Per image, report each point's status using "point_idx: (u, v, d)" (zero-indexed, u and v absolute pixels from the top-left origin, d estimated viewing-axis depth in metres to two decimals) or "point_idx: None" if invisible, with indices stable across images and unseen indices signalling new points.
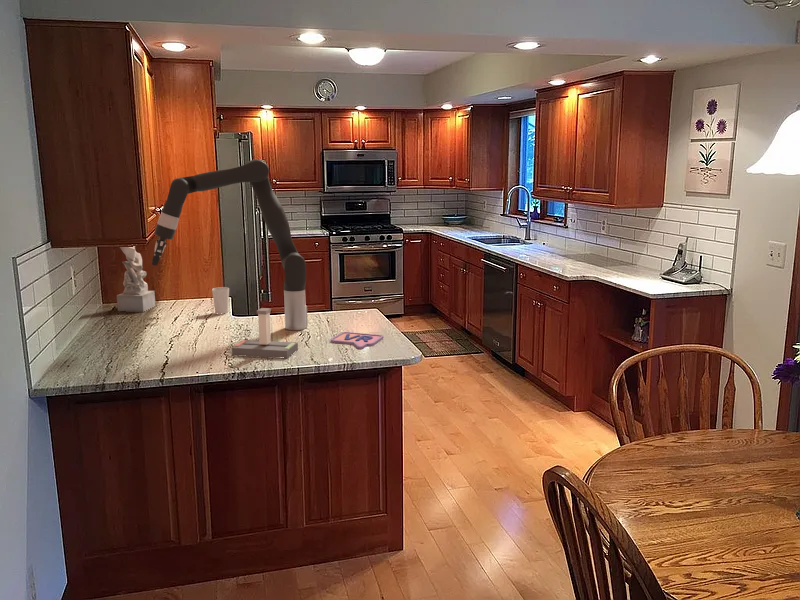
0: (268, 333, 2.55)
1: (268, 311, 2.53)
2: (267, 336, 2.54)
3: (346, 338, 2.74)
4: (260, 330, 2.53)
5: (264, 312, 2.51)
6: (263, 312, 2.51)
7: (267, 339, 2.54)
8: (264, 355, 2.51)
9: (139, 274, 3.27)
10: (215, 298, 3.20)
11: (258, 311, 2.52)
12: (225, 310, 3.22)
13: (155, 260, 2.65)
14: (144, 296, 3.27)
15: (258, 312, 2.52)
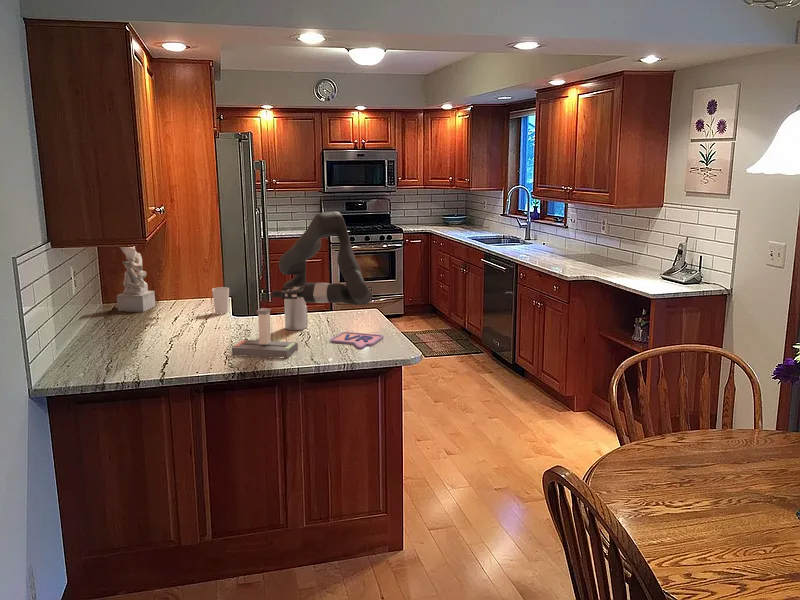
0: (268, 333, 2.55)
1: (268, 311, 2.53)
2: (267, 336, 2.54)
3: (346, 338, 2.74)
4: (260, 330, 2.53)
5: (264, 312, 2.51)
6: (263, 312, 2.51)
7: (267, 339, 2.54)
8: (264, 355, 2.51)
9: (139, 274, 3.27)
10: (215, 298, 3.20)
11: (258, 311, 2.52)
12: (225, 310, 3.22)
13: None
14: (144, 296, 3.27)
15: (258, 312, 2.52)
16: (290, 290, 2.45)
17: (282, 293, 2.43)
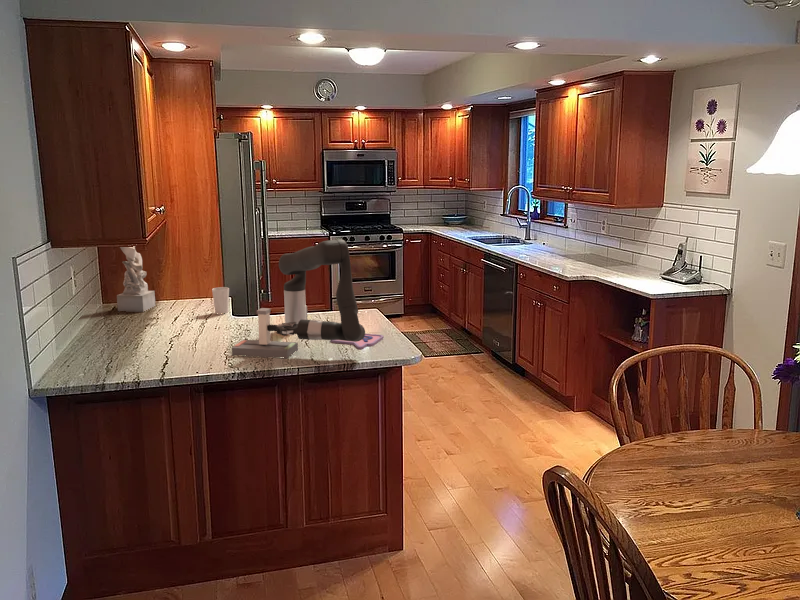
0: (268, 333, 2.55)
1: (268, 311, 2.53)
2: (267, 336, 2.54)
3: None
4: (260, 330, 2.53)
5: (264, 312, 2.51)
6: (263, 312, 2.51)
7: (267, 339, 2.54)
8: (264, 355, 2.51)
9: (139, 274, 3.27)
10: (215, 298, 3.20)
11: (258, 311, 2.52)
12: (225, 310, 3.22)
13: None
14: (144, 296, 3.27)
15: (258, 312, 2.52)
16: (283, 326, 2.52)
17: None
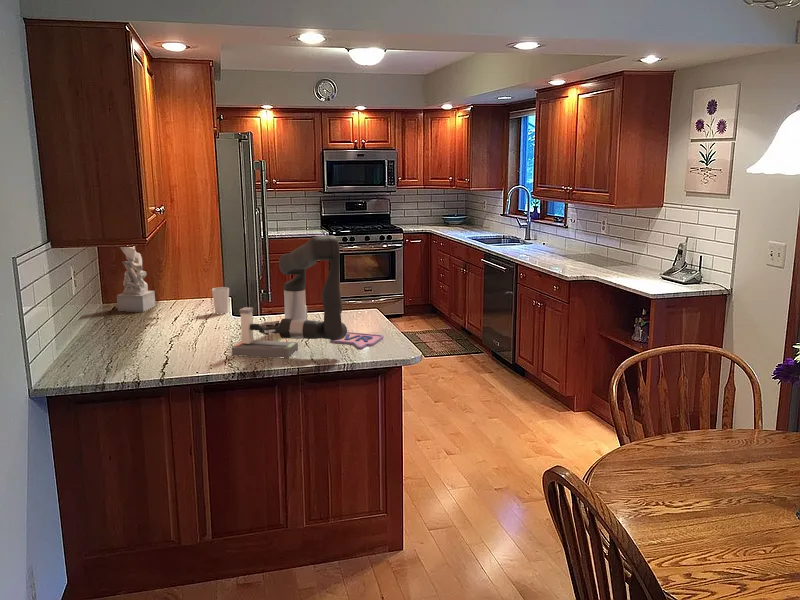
0: (251, 332, 2.56)
1: (250, 310, 2.55)
2: (250, 335, 2.56)
3: (346, 338, 2.74)
4: (242, 329, 2.55)
5: (246, 311, 2.52)
6: (245, 311, 2.53)
7: (250, 338, 2.56)
8: (264, 355, 2.51)
9: (139, 274, 3.27)
10: (215, 298, 3.20)
11: (240, 310, 2.53)
12: (225, 310, 3.22)
13: None
14: (144, 296, 3.27)
15: (240, 311, 2.53)
16: (266, 325, 2.53)
17: None
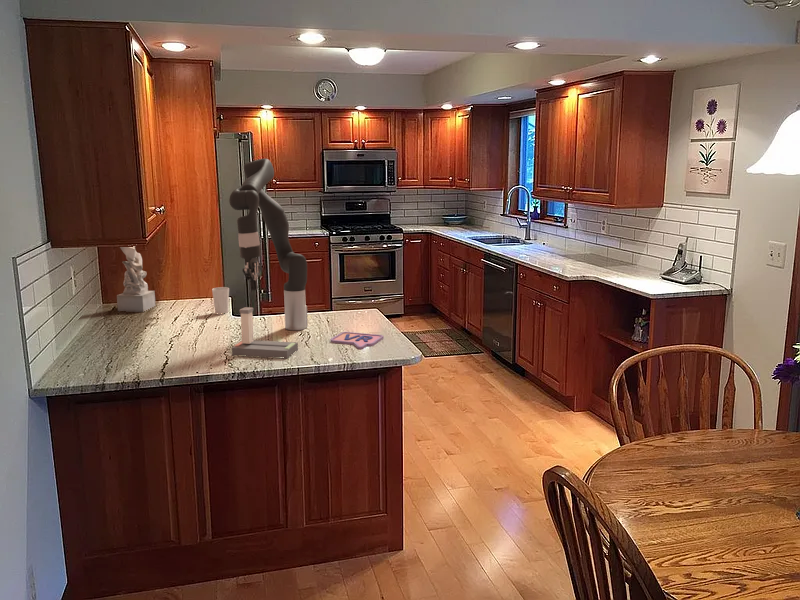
0: (251, 332, 2.56)
1: (251, 310, 2.55)
2: (250, 335, 2.56)
3: (346, 338, 2.74)
4: (243, 329, 2.55)
5: (246, 311, 2.52)
6: (245, 311, 2.53)
7: (250, 338, 2.56)
8: (264, 355, 2.51)
9: (139, 274, 3.27)
10: (215, 298, 3.20)
11: (240, 310, 2.53)
12: (225, 310, 3.22)
13: None
14: (144, 296, 3.27)
15: (240, 311, 2.53)
16: None
17: (247, 278, 2.49)
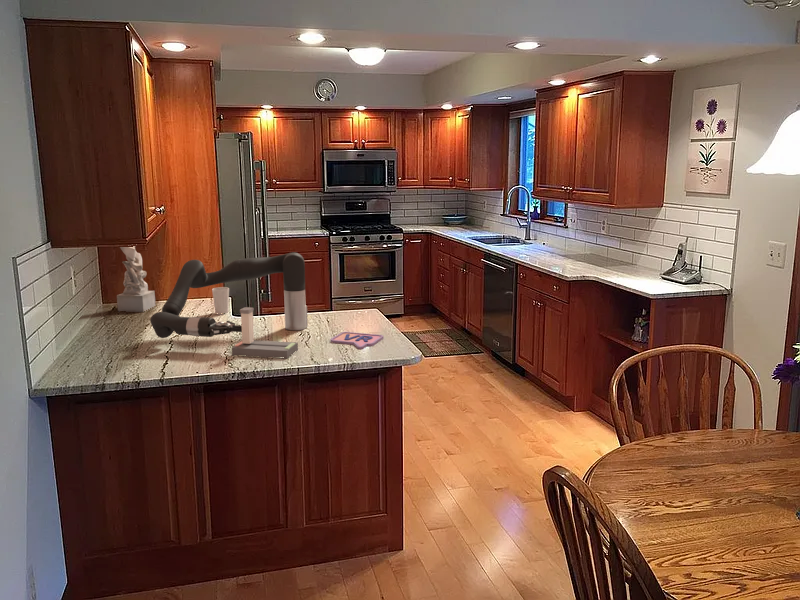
0: (251, 332, 2.56)
1: (251, 310, 2.55)
2: (250, 335, 2.56)
3: (346, 338, 2.74)
4: (243, 329, 2.55)
5: (247, 311, 2.52)
6: (246, 311, 2.53)
7: (250, 338, 2.56)
8: (264, 355, 2.51)
9: (139, 274, 3.27)
10: (215, 298, 3.20)
11: (241, 310, 2.53)
12: (225, 310, 3.22)
13: None
14: (144, 296, 3.27)
15: (241, 311, 2.53)
16: None
17: (227, 332, 2.54)
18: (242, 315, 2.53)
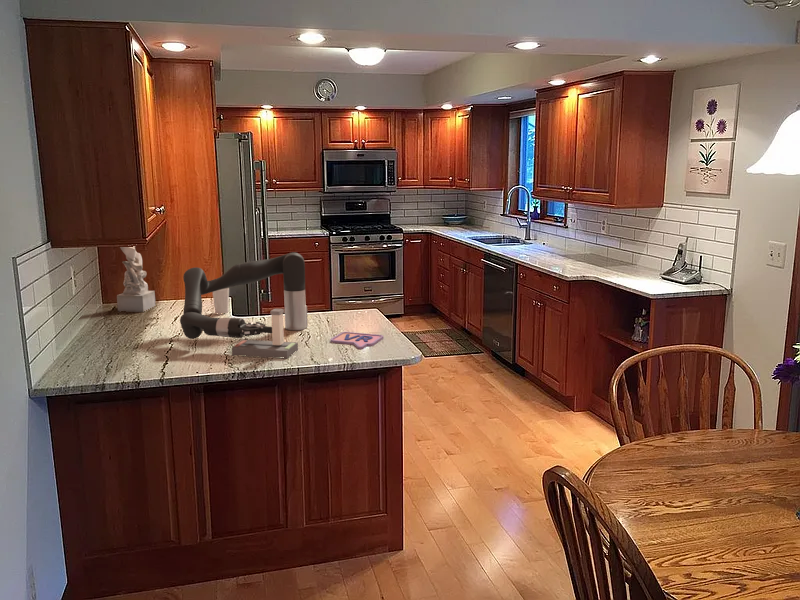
0: (281, 334, 2.54)
1: (281, 312, 2.52)
2: (280, 337, 2.53)
3: (346, 338, 2.74)
4: (273, 331, 2.52)
5: (277, 313, 2.50)
6: (276, 313, 2.50)
7: (280, 340, 2.54)
8: (264, 355, 2.51)
9: (139, 274, 3.27)
10: (215, 298, 3.20)
11: (271, 312, 2.51)
12: (225, 310, 3.22)
13: None
14: (144, 296, 3.27)
15: (271, 313, 2.51)
16: None
17: (257, 333, 2.52)
18: (273, 316, 2.51)
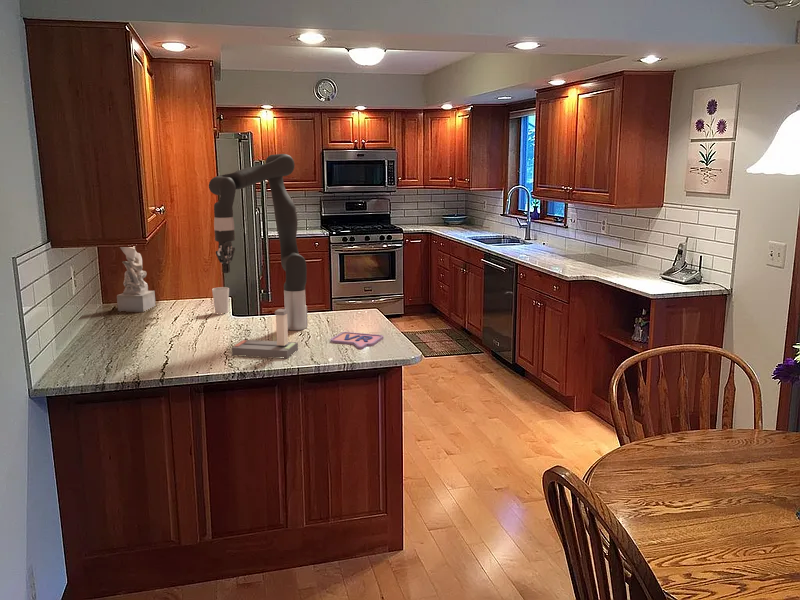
0: (286, 334, 2.54)
1: (286, 312, 2.52)
2: (285, 337, 2.53)
3: (346, 338, 2.74)
4: (278, 331, 2.52)
5: (282, 313, 2.50)
6: (281, 313, 2.50)
7: (285, 340, 2.53)
8: (264, 355, 2.51)
9: (139, 274, 3.27)
10: (215, 298, 3.20)
11: (276, 312, 2.50)
12: (225, 310, 3.22)
13: None
14: (144, 296, 3.27)
15: (276, 313, 2.50)
16: None
17: (220, 261, 2.60)
18: (277, 317, 2.51)
